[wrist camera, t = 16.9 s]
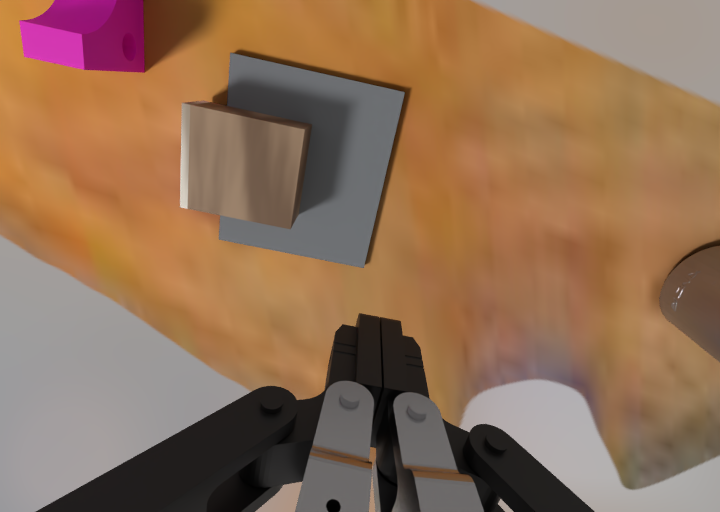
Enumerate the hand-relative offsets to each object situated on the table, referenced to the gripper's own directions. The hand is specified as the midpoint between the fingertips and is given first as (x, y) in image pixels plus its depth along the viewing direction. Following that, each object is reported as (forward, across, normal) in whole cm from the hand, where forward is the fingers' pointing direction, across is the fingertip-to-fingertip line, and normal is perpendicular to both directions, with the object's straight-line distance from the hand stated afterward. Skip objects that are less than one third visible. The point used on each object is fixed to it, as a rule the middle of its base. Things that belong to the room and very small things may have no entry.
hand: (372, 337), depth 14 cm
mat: (+23, +6, 0) cm, 24 cm away
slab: (+20, +6, 0) cm, 21 cm away
